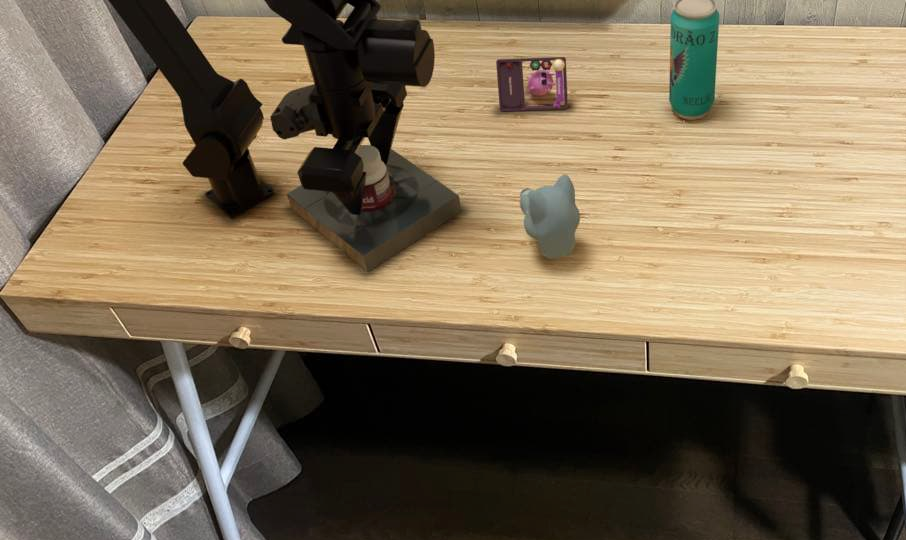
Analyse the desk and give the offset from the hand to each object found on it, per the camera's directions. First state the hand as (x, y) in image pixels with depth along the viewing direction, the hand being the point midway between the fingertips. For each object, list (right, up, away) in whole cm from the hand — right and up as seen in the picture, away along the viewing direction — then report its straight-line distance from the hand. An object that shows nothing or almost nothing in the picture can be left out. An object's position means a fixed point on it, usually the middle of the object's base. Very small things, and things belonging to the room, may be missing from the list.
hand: (369, 188), depth 119 cm
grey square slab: (0, -2, +3) cm, 4 cm away
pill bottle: (0, -3, +3) cm, 4 cm away
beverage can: (+40, +12, +11) cm, 43 cm away
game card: (+19, +14, +15) cm, 28 cm away
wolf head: (+21, -7, -4) cm, 23 cm away
